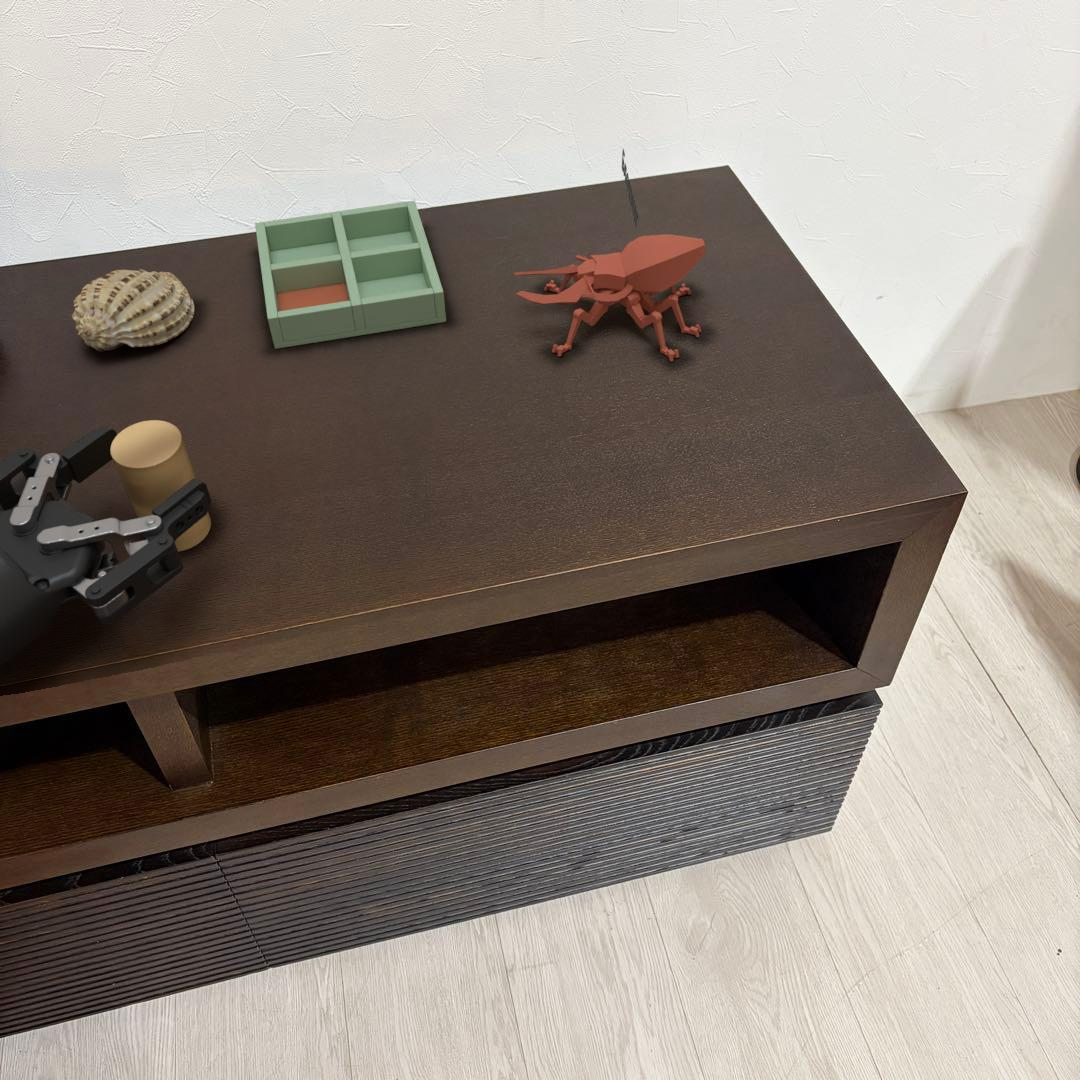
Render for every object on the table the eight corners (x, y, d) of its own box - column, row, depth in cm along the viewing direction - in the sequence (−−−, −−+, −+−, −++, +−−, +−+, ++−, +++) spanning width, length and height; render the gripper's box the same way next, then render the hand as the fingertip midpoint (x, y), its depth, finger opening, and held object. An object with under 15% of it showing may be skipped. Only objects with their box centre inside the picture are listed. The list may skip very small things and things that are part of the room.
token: (134, 526, 75) (97, 441, 69) (190, 495, 77) (160, 410, 71) (165, 562, 73) (131, 478, 67) (223, 529, 75) (194, 444, 69)
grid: (274, 349, 88) (267, 318, 86) (261, 252, 97) (254, 222, 95) (446, 321, 90) (443, 291, 88) (417, 229, 99) (414, 200, 97)
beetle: (685, 269, 95) (700, 131, 85) (710, 360, 86) (729, 218, 77) (512, 278, 94) (507, 140, 85) (520, 370, 86) (516, 229, 76)
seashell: (121, 328, 95) (60, 355, 85) (113, 257, 92) (50, 277, 83) (207, 334, 94) (156, 362, 85) (202, 263, 92) (148, 284, 82)
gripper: (-7, 646, 57) (223, 465, 65) (-163, 530, 62) (68, 376, 71) (44, 724, 62) (249, 547, 71) (-103, 611, 68) (104, 460, 77)
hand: (158, 462), depth 71 cm, fingers open, 8 cm apart
